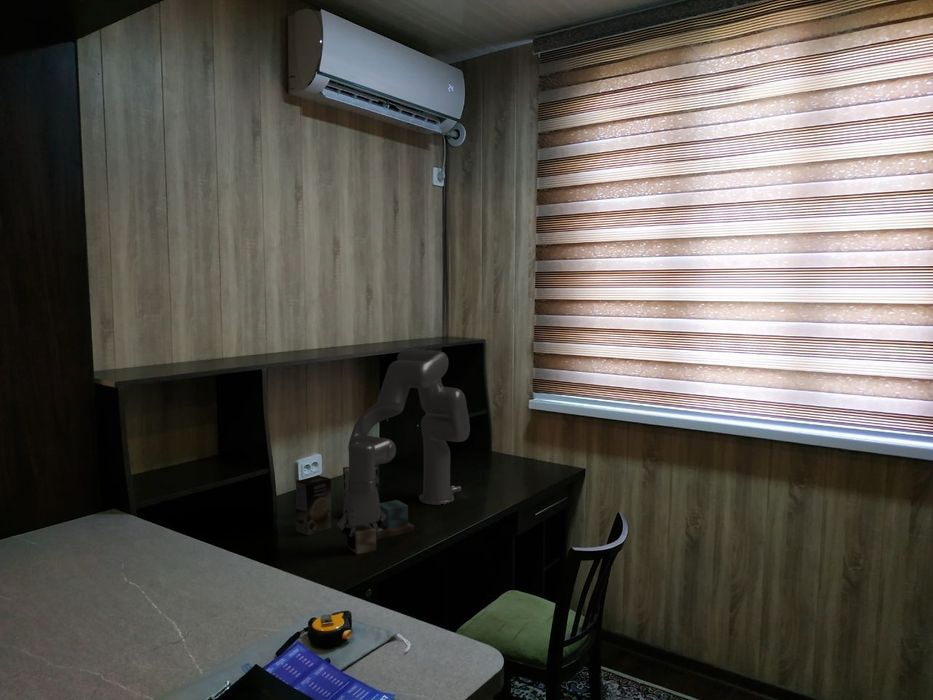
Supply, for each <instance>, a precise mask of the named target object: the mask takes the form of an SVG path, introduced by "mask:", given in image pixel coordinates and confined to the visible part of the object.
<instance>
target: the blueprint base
mask: <svg viewBox="0 0 933 700" xmlns="http://www.w3.org/2000/svg"><path fill="white" fill-rule="evenodd" d="M379 503H380V510H381V511H382V512H383V513H385V514H386V515H387V517H386V518H385V520H384V521H383V522H382V524H381V525H380V527H379V529H378V531H377V540H379V539H380V540H381V539H384V538H385V539H386V538H388V537H393V536H397V535H401V534H407V533H411V532H414V531H415V529H416V528H415V525H414V524H412V523H410V522H409V506H408V504H406V503H404V502H402V501H400V500H398V499H395V500H390V501H385V502H379ZM368 525H370V524H368ZM344 526H345V527H346V528H347V526H348V524H347V525H344Z"/></svg>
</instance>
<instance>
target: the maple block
mask: <svg viewBox="0 0 933 700" xmlns="http://www.w3.org/2000/svg"><path fill="white" fill-rule="evenodd" d="M354 536H355V549H354V550H352V549H351V548H350V547H349V546H348V545H347V546H348V549H350V550H351V551H352V552H353V553H355V554H356V555H361V554H365V553H368V552H373V551H377V540H376V529H374V528H373V527H371V526H370V525H368V524H365V525H360V526H356V529H355V532H354Z"/></svg>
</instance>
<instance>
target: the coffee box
mask: <svg viewBox="0 0 933 700" xmlns="http://www.w3.org/2000/svg"><path fill="white" fill-rule="evenodd" d="M331 528H332V478H329V477H327V476H322V475H314V476H312V477H307V478H303V479H297V480H295V531H296V532H297V533H300V534H303V535H306V536H310V535H314V534H317V533H321V532H323V531H326V530H329V529H331Z"/></svg>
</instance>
